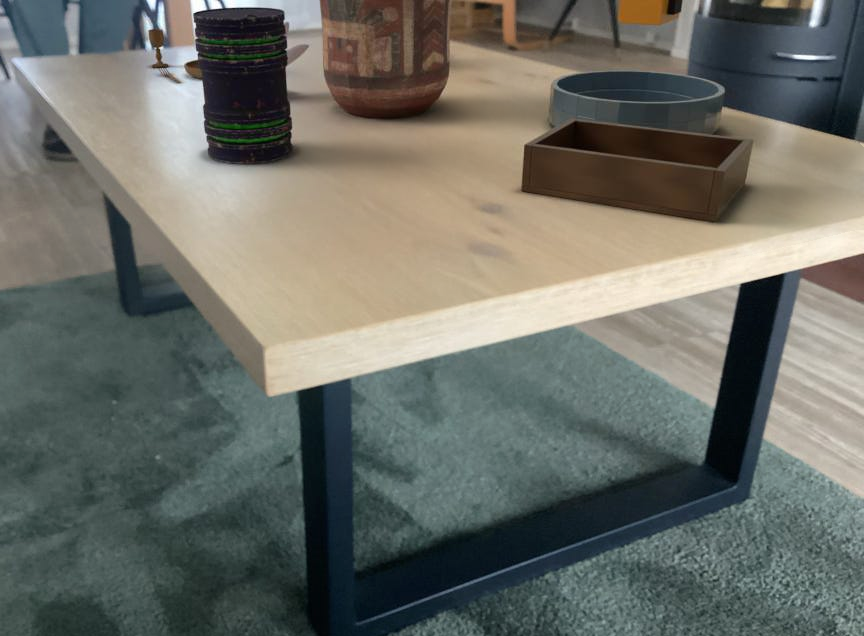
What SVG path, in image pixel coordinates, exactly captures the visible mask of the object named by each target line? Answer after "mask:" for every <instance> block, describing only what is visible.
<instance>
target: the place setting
mask: <svg viewBox="0 0 864 636" xmlns="http://www.w3.org/2000/svg"><path fill="white" fill-rule="evenodd" d="M148 39H149V43H150V45H151V47H153V48H154V50H155V58H156V60H157V62H155V63H154V64H152V65H151V67H152V68H155V69H158V70H159V72H160V74H161V76H165V77H166V76H167V77H168V78H170V79H171V80H172V81H174V82H175V83H180V81H179V80H180V79H177V78H176V77H174V76H173V75H172V74H171V73H170V72H169V70H168V69H167V67H169V63H164V62H163V61H162V58H163V55H162V53H161V48H162V47H163V46H164V44H165V38H164V30H163V29H161V28H155V29H148ZM198 53H199V52H197V54H198ZM197 60H198V59H195V60H189V61H187V62H184V64H183V67H184V70H185V73H186V74H188V75H190V76H191V77H193V78H195V79H200V80H202V72H201V70H200V69H199V65H198V62H197Z"/></svg>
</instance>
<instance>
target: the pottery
mask: <svg viewBox="0 0 864 636" xmlns="http://www.w3.org/2000/svg"><path fill="white" fill-rule="evenodd" d="M452 4H453V0H319V8H320V9H319V10H320V19H321V33H322V34H321V35H322V67H323V77H324V80H325V84H326V86H327V88H328V90H329V92H330V94H331V97H332V98H333V100H334V101H335V102H336V104H338V105H339V107H340V108H341V109H342V110H343V111H344V112H345V113H347V114H348V115H353V116H357V117H364V118H372V119H391V118H404V117H412V116H415V115H418V114H422V113H424V112H426V111H428V110H429V109H430V108H431V106H433V104H435V103H436V102H437V101H438V100H439V98H440V97H441V96H442V93H443V92H444V89H445V88H446V86H447V83H448V80H449V76H450V66H451V46H450V45H451V42H450V41H451V40H450V39H451V34H450V33H451V32H450V31H451V19H452V6H453V5H452Z"/></svg>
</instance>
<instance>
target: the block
mask: <svg viewBox="0 0 864 636" xmlns="http://www.w3.org/2000/svg"><path fill="white" fill-rule="evenodd" d="M668 2H669V0H619V3H620V6H619V5H618V15H617V23H618V24H628V25H629V24H631V25H644V26H645V25H647V26H649V25H650V26H662V25H663V24H667V23H670V22H671V21H674V20H676V19H679V18H680V13H677V14H675V15H667V10H668Z"/></svg>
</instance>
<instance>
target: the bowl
mask: <svg viewBox="0 0 864 636" xmlns="http://www.w3.org/2000/svg"><path fill="white" fill-rule="evenodd" d="M549 91H550V92H549V103H548V104H549V105H548V106H549V107H548V115H547V117H548V119H547V120H548V121H549V123H550V125H551V126H553V127H554V128H555V127H557V126H559V125H560V124H562V123H564V122H566V121H568V120H569V119H571V118H572V119H581V120H589V121H598V122H607V123H615V124H624V125H632V126H641V127H650V128H658V129H667V130H675V131H684V132H693V133H701V134H710V135H714V134H715V132H717V131H718V130H719V129H720V123H721V117H722V112H723V106H724V102H725V101H724V99H725V94H726V90H725V87H724V86H723V85H721V84H719V83H718V82H715V81H713V80H709V79H707V78H702V77H697V76H693V75H688V74H680V73H673V72H664V71H652V70H634V69H633V70H630V69H629V70H628V69H627V70H626V69H625V70H624V69H623V70H619V69H617V70H614V69H613V70H592V71H583V72H574V73H570V74H565V75H561V76H559V77H556V78H555V79H553V80H552V82H551V83H550V90H549Z"/></svg>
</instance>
